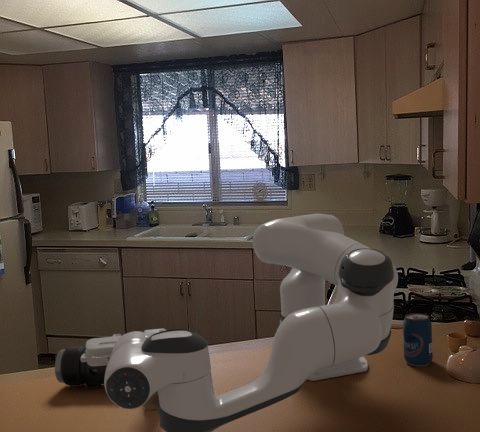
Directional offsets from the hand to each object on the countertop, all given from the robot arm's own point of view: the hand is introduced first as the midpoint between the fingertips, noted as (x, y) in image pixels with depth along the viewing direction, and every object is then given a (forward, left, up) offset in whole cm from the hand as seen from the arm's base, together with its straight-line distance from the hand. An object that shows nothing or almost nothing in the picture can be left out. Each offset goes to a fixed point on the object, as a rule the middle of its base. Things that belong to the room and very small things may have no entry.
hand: (140, 335), depth 122 cm
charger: (-2, -13, -15) cm, 20 cm away
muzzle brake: (+9, -22, -19) cm, 31 cm away
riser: (-3, -10, -19) cm, 21 cm away
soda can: (-67, -18, -19) cm, 72 cm away
